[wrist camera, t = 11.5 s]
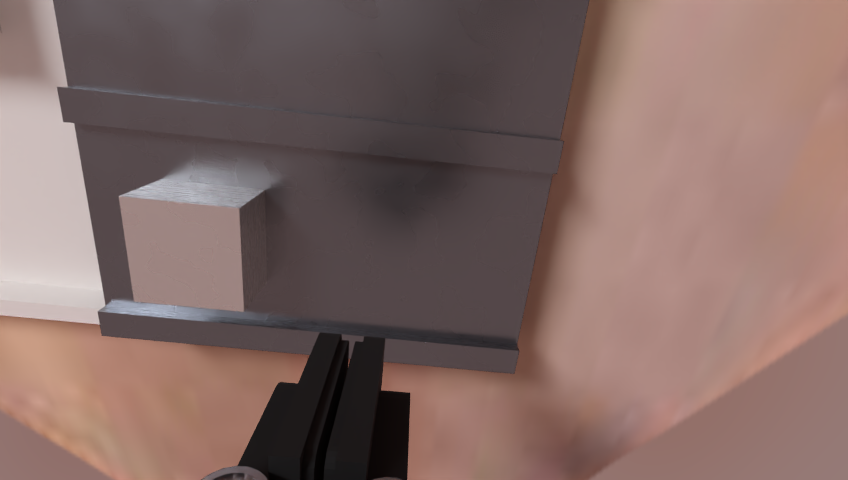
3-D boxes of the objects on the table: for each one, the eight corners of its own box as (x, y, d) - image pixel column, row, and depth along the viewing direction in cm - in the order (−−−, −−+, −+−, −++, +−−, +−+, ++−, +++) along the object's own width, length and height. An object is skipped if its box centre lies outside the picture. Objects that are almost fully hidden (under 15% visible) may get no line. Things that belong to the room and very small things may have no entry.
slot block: (594, -129, 16) (630, -173, 13) (503, 336, 22) (514, 373, 20) (75, -193, 15) (-5, -254, 12) (143, 301, 22) (101, 335, 19)
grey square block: (264, 189, 17) (239, 208, 15) (267, 281, 19) (243, 311, 16) (161, 179, 17) (118, 196, 15) (171, 272, 18) (133, 301, 16)
